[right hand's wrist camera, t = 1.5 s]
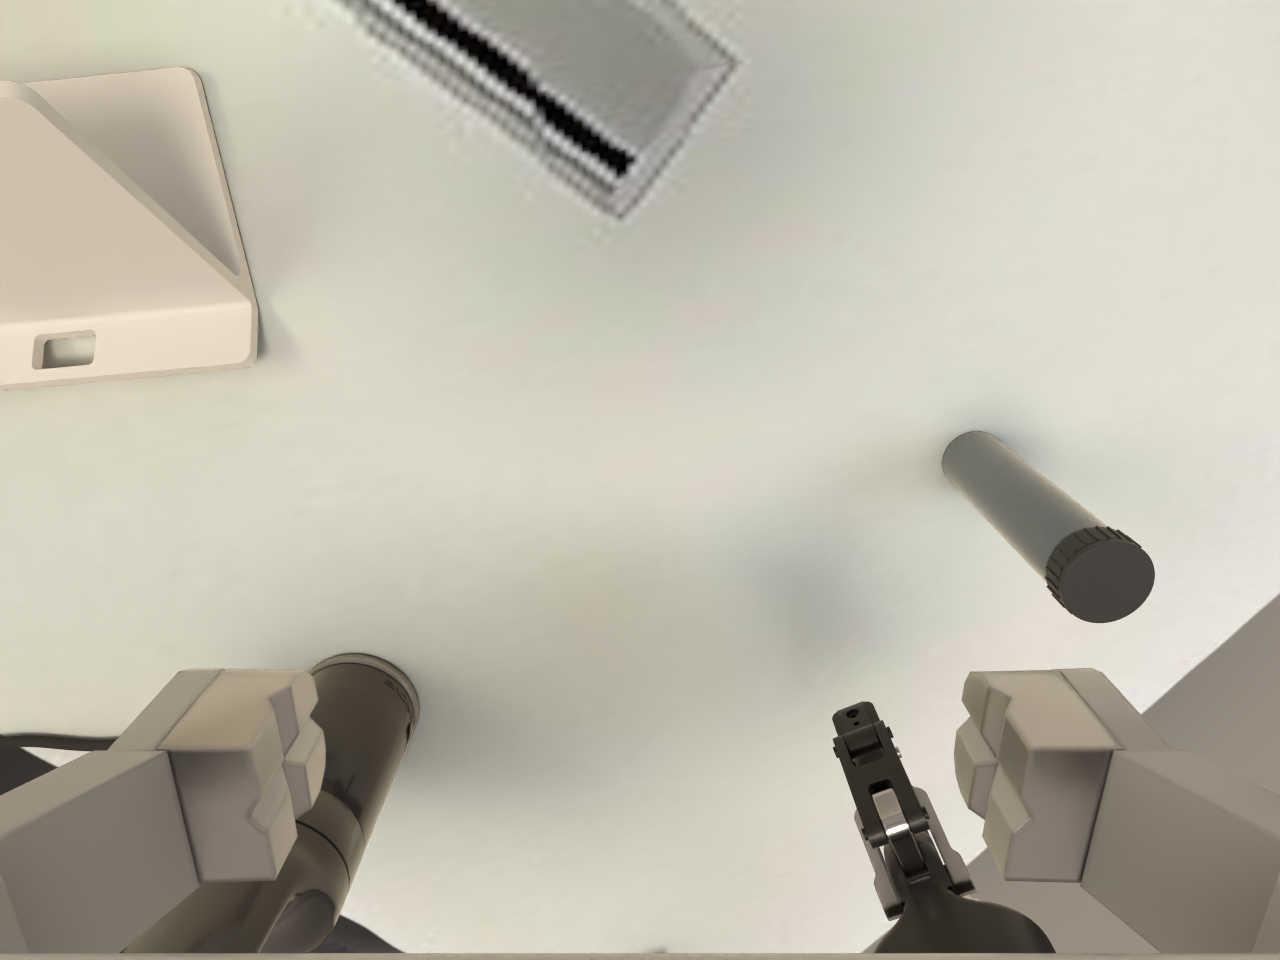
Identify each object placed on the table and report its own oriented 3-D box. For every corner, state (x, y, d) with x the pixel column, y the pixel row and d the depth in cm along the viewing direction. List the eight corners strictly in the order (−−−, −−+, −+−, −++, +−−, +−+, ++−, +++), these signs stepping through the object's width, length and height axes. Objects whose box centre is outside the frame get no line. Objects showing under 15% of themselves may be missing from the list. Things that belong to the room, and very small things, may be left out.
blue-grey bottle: (986, 495, 61) (1120, 625, 44) (931, 478, 61) (1045, 603, 44) (1013, 441, 60) (1163, 555, 43) (958, 423, 59) (1086, 530, 42)
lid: (1107, 616, 46) (1126, 635, 44) (1027, 592, 45) (1043, 609, 43) (1153, 540, 44) (1174, 556, 42) (1070, 513, 44) (1089, 529, 42)
